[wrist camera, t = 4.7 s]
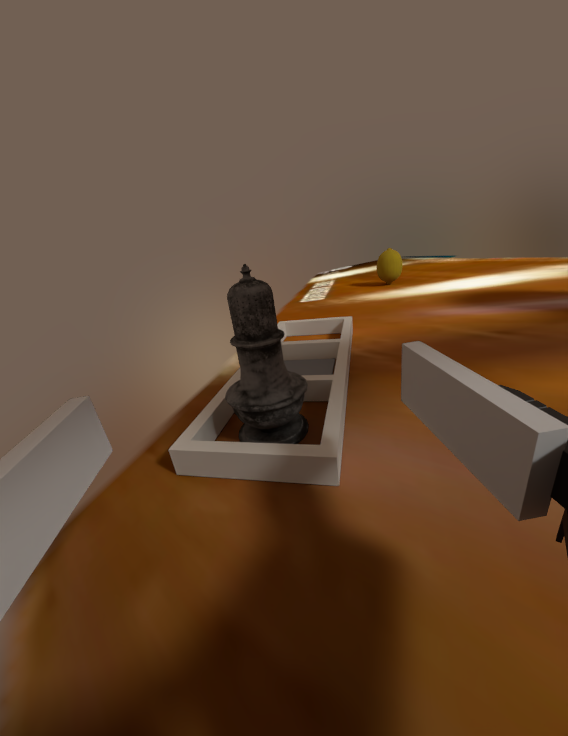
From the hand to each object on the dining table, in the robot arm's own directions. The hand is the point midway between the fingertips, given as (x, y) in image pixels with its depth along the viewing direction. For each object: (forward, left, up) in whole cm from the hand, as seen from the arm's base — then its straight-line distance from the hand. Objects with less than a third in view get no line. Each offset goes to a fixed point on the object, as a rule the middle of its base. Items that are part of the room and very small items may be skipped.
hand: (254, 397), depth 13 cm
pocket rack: (-13, -11, -7) cm, 19 cm away
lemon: (-61, -27, -7) cm, 67 cm away
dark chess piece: (-5, -6, -7) cm, 11 cm away
